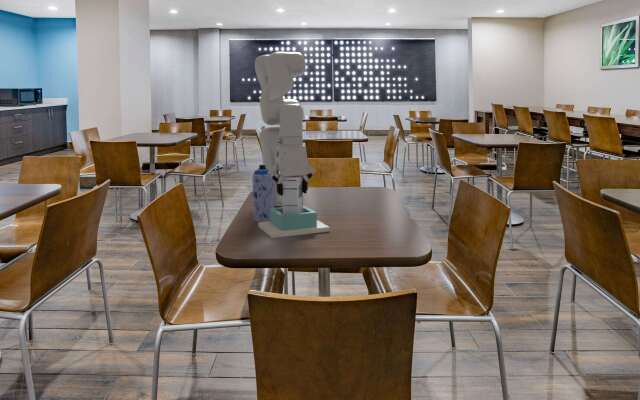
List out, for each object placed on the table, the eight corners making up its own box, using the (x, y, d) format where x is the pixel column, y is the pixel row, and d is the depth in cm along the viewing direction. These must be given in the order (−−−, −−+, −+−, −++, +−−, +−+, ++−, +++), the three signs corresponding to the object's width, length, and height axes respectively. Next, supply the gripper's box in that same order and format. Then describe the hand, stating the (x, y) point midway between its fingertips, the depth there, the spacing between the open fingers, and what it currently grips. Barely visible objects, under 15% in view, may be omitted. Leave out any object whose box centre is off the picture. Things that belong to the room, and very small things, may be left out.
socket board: (258, 226, 187) (257, 208, 186) (311, 220, 194) (311, 203, 193) (272, 238, 173) (271, 218, 171) (329, 231, 180) (329, 212, 179)
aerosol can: (250, 217, 200) (248, 164, 196) (270, 215, 203) (269, 163, 199) (256, 222, 193) (254, 167, 189) (277, 220, 196) (276, 165, 192)
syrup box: (299, 220, 179) (298, 177, 177) (282, 219, 181) (281, 177, 178) (303, 216, 185) (302, 174, 182) (286, 215, 186) (286, 174, 183)
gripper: (269, 143, 171) (270, 198, 174) (320, 141, 177) (320, 193, 181) (262, 141, 178) (264, 194, 181) (311, 139, 184) (312, 190, 188)
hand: (292, 193), depth 181 cm, fingers closed on syrup box, 7 cm apart
